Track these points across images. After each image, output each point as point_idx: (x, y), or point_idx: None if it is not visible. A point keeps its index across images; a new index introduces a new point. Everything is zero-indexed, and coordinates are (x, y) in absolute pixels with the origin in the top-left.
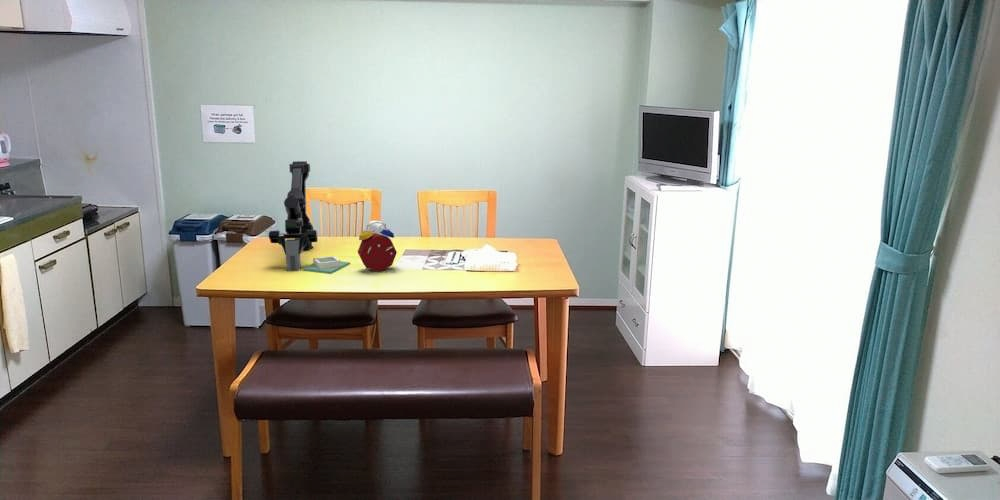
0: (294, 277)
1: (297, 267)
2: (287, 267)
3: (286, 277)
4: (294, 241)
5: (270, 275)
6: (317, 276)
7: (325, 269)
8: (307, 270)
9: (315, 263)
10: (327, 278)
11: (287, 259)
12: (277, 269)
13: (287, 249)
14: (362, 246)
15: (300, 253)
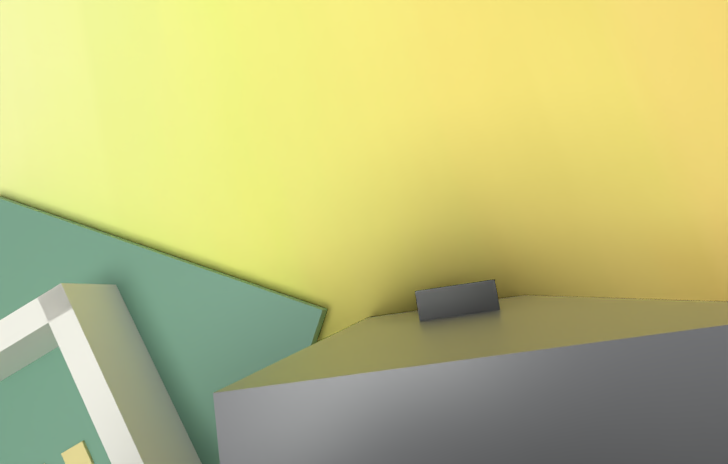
0: (350, 31)
1: (390, 316)
2: (523, 297)
3: (439, 23)
4: (379, 396)
5: (660, 82)
6: (119, 87)
7: (48, 278)
8: (264, 287)
9: (169, 444)
10: (14, 29)
11: (545, 300)
12: None
13: (601, 307)
14: None
15: None
